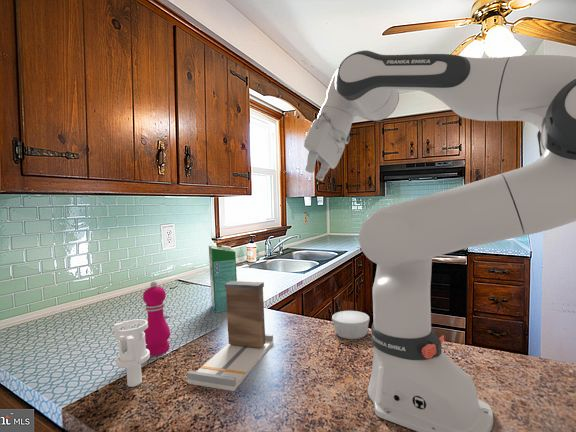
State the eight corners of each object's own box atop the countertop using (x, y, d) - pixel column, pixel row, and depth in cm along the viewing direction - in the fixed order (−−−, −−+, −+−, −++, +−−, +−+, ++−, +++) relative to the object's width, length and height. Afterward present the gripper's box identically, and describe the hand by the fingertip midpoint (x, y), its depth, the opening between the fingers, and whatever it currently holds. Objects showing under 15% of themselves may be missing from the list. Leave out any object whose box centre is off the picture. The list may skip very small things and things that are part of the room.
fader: (233, 339, 91) (230, 280, 90) (266, 342, 87) (263, 282, 87) (227, 344, 87) (224, 284, 87) (261, 348, 84) (258, 285, 83)
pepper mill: (161, 357, 85) (157, 284, 84) (138, 355, 86) (133, 284, 85) (176, 345, 92) (172, 278, 91) (154, 344, 93) (150, 278, 92)
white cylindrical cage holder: (113, 383, 73) (109, 320, 72) (144, 371, 78) (141, 312, 77) (123, 396, 68) (118, 328, 67) (155, 382, 72) (152, 319, 72)
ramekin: (326, 330, 98) (325, 313, 98) (356, 323, 102) (355, 308, 102) (344, 344, 88) (344, 326, 88) (377, 336, 92) (376, 319, 92)
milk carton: (238, 308, 122) (235, 245, 121) (215, 312, 119) (211, 247, 118) (233, 302, 130) (230, 243, 129) (211, 305, 127) (208, 245, 126)
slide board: (236, 339, 94) (236, 331, 94) (273, 343, 90) (273, 334, 90) (187, 383, 71) (187, 372, 71) (234, 391, 68) (233, 380, 67)
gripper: (335, 111, 69) (314, 170, 69) (351, 140, 88) (334, 186, 88) (310, 105, 71) (289, 162, 72) (330, 135, 90) (314, 180, 91)
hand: (314, 176), depth 80 cm, fingers open, 8 cm apart
